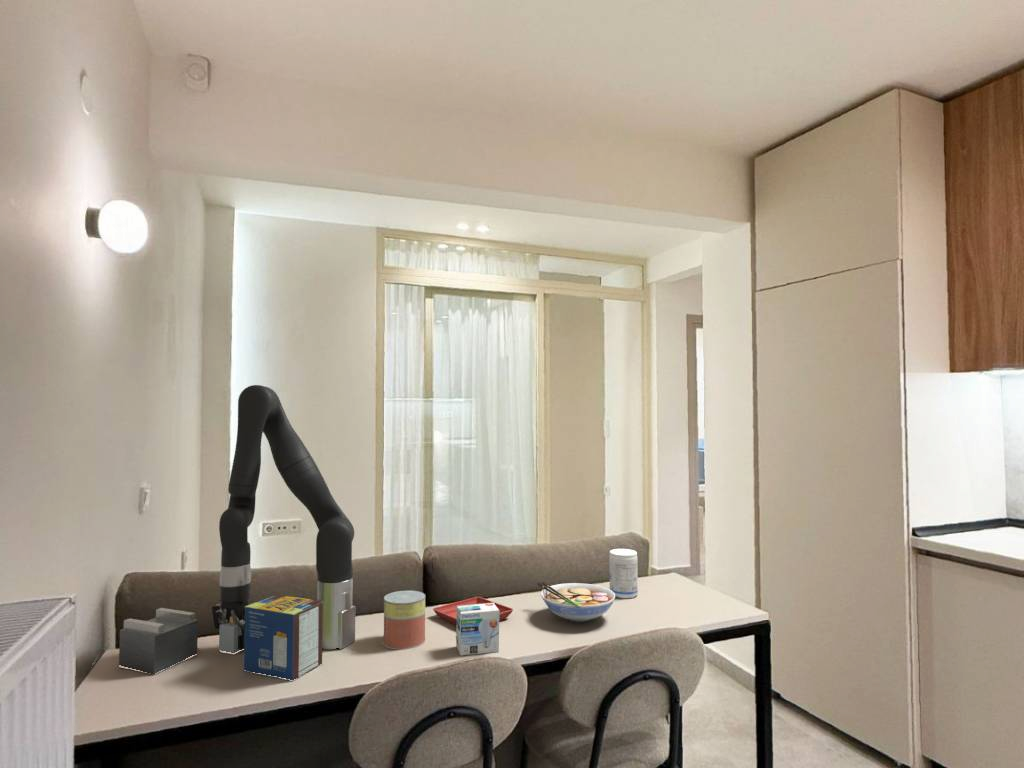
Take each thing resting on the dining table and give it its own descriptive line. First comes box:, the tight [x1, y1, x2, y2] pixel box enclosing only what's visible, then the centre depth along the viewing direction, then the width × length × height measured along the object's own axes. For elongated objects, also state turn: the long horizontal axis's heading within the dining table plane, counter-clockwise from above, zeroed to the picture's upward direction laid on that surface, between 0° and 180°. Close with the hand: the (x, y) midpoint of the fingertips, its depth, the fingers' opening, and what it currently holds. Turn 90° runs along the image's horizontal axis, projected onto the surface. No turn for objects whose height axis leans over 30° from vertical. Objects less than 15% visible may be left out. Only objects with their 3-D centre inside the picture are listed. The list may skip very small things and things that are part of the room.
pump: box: [218, 617, 244, 653], centre depth 153 cm, size 5×5×9 cm
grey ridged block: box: [118, 607, 199, 675], centre depth 146 cm, size 12×12×11 cm
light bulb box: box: [455, 603, 500, 656], centre depth 153 cm, size 11×7×11 cm, turn 105°
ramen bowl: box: [536, 581, 616, 623], centre depth 176 cm, size 25×23×8 cm
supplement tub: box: [608, 548, 639, 599], centre depth 199 cm, size 10×10×15 cm
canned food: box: [383, 589, 426, 650], centre depth 159 cm, size 11×11×12 cm
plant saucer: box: [432, 596, 514, 626], centre depth 176 cm, size 18×18×3 cm
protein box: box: [243, 594, 323, 681], centre depth 142 cm, size 10×15×16 cm
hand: (233, 646), depth 152 cm, fingers closed on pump, 5 cm apart
